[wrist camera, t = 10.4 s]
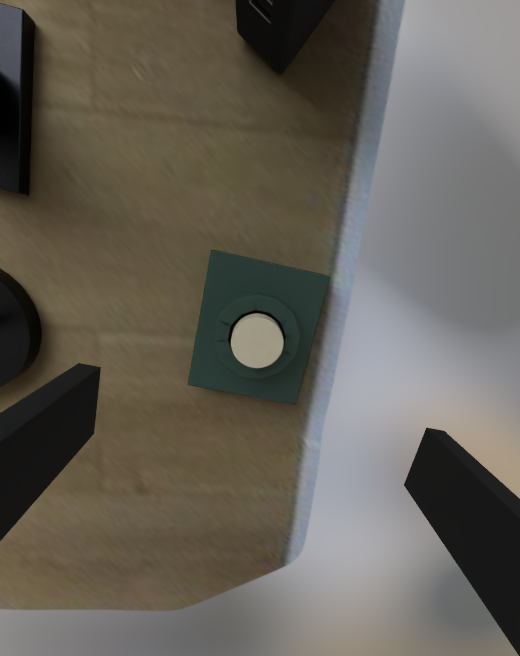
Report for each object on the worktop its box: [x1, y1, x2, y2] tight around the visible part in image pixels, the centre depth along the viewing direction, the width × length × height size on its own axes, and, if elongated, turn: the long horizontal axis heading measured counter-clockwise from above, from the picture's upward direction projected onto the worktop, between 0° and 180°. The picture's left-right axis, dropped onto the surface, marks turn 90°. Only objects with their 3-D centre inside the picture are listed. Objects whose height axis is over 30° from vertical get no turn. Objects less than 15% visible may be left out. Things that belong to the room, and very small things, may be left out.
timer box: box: [188, 250, 330, 405], centre depth 26 cm, size 12×10×4 cm
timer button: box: [231, 313, 284, 368], centre depth 23 cm, size 4×4×2 cm
